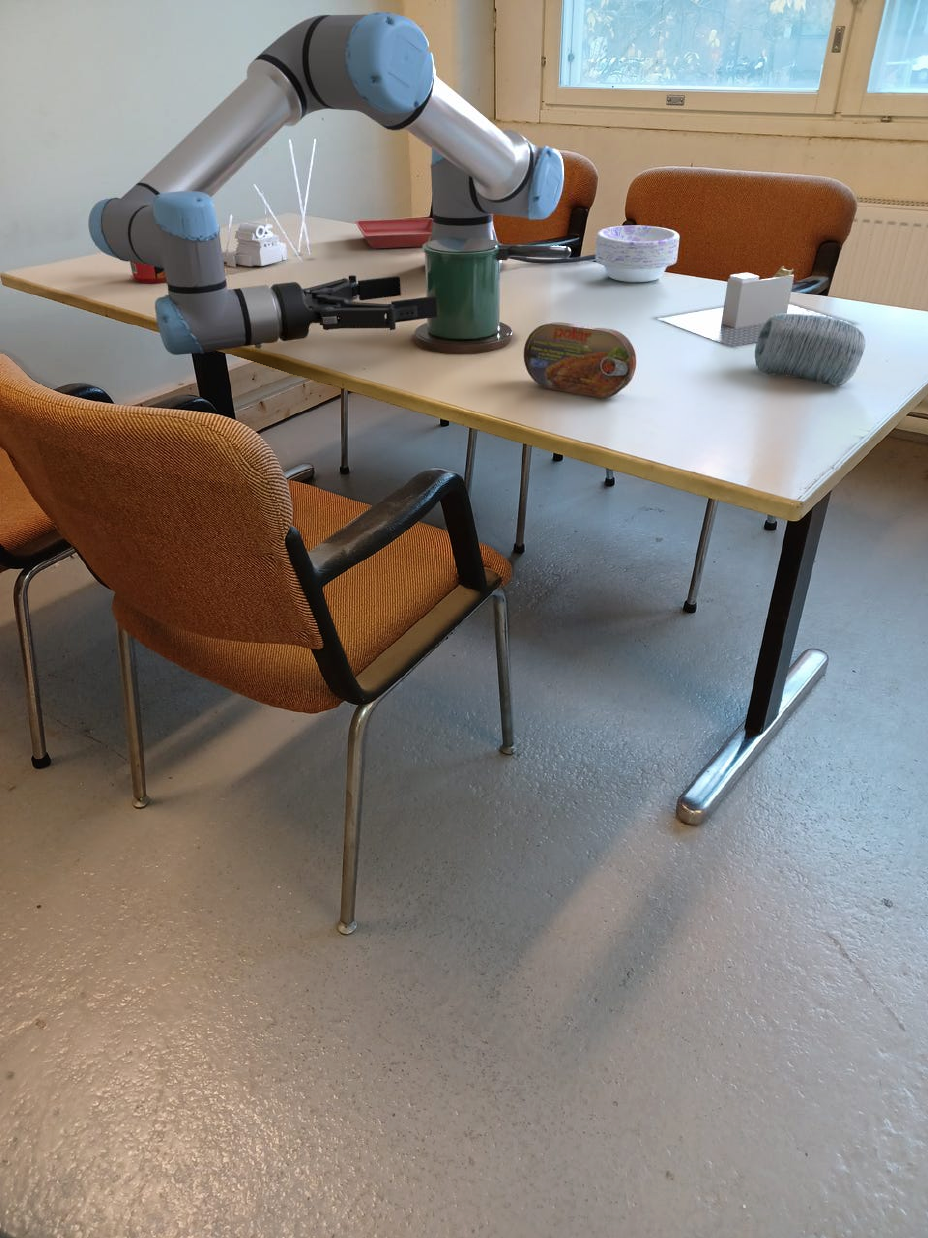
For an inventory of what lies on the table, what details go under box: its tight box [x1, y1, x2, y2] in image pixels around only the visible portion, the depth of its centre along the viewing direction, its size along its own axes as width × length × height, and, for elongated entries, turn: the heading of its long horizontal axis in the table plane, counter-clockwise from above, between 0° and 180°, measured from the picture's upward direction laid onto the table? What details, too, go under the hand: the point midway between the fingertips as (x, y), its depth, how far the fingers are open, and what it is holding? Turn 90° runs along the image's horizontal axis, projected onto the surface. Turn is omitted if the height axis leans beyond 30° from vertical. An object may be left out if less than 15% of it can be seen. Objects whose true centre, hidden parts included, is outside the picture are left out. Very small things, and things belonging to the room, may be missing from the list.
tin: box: [523, 321, 637, 399], centre depth 113 cm, size 15×3×8 cm, turn 58°
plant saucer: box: [355, 217, 433, 249], centre depth 197 cm, size 18×18×3 cm
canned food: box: [129, 261, 167, 284], centre depth 167 cm, size 8×8×11 cm
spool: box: [754, 313, 866, 387], centre depth 117 cm, size 14×10×10 cm
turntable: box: [414, 321, 513, 355], centre depth 135 cm, size 15×15×1 cm
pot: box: [422, 237, 572, 339], centre depth 130 cm, size 22×12×12 cm, turn 77°
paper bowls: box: [594, 224, 680, 283], centre depth 165 cm, size 15×15×8 cm
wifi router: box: [222, 138, 317, 268], centre depth 178 cm, size 25×22×22 cm
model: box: [720, 265, 795, 329], centre depth 140 cm, size 3×11×8 cm, turn 118°
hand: (417, 295), depth 129 cm, fingers open, 13 cm apart
